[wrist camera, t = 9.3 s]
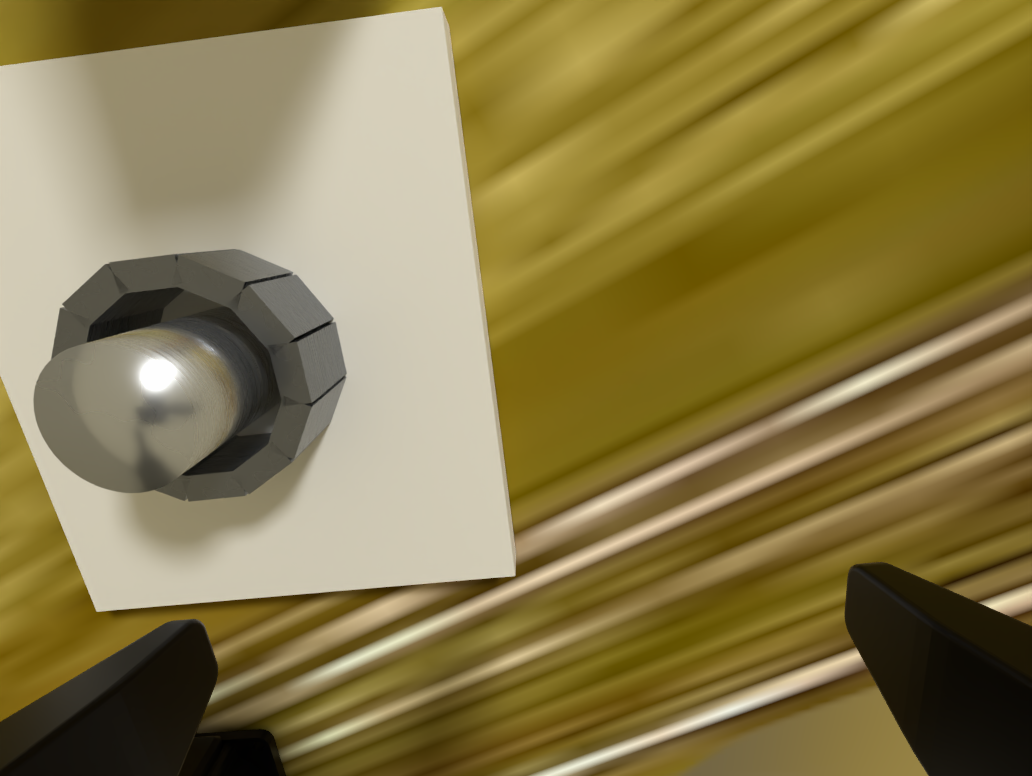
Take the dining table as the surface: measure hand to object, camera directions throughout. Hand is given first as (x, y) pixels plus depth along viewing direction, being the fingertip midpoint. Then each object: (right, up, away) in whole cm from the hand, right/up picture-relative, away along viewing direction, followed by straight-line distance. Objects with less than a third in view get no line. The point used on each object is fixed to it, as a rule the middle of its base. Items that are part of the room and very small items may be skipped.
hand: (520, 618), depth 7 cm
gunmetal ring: (-9, +4, +10) cm, 14 cm away
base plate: (-9, +5, +11) cm, 15 cm away
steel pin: (-9, +4, +10) cm, 14 cm away
